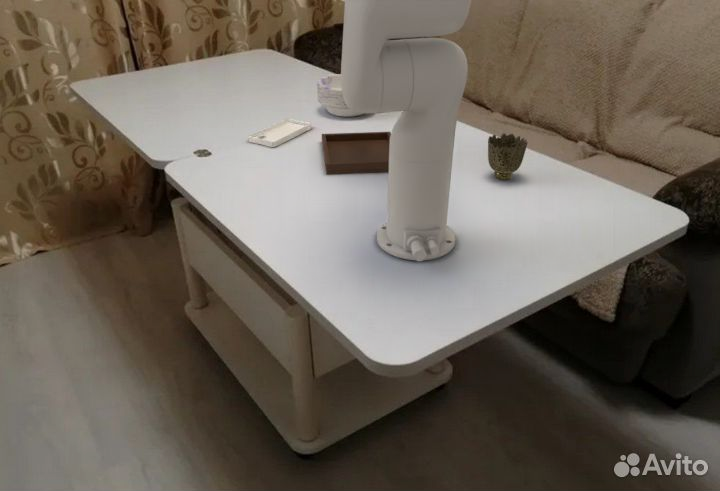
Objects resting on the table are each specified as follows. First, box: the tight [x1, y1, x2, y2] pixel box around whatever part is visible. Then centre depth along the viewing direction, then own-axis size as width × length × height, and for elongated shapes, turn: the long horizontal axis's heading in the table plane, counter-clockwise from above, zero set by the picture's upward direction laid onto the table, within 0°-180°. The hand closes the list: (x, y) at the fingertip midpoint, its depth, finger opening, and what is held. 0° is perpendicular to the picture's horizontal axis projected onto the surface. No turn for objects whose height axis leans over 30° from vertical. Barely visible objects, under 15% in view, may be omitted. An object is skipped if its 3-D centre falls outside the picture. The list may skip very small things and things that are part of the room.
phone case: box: [248, 118, 312, 148], centre depth 138 cm, size 7×1×15 cm
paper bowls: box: [316, 73, 364, 118], centre depth 152 cm, size 15×15×8 cm
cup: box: [487, 132, 529, 181], centre depth 116 cm, size 8×7×8 cm
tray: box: [321, 131, 392, 175], centre depth 127 cm, size 18×16×2 cm
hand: (359, 83), depth 120 cm, fingers closed on medicine box, 8 cm apart
